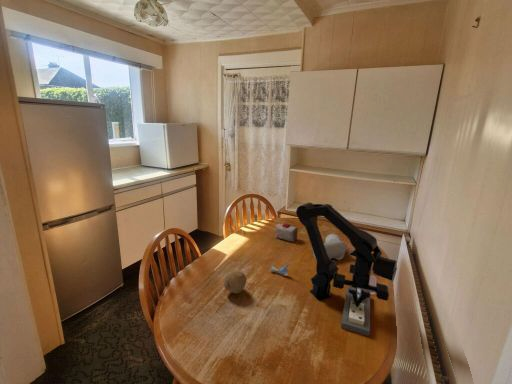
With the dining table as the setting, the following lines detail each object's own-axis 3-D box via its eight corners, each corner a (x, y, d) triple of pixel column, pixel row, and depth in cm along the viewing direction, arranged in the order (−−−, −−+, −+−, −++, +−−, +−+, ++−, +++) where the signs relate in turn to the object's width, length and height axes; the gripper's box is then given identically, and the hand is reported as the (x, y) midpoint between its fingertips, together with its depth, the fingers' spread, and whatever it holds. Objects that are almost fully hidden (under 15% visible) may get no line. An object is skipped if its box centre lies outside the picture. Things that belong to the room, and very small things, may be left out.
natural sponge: (225, 301, 101) (225, 279, 98) (222, 287, 109) (222, 266, 106) (248, 297, 103) (248, 276, 100) (243, 284, 111) (243, 264, 109)
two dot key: (363, 327, 88) (364, 321, 87) (347, 322, 90) (348, 316, 89) (363, 317, 92) (364, 312, 92) (349, 313, 94) (349, 307, 94)
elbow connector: (351, 264, 128) (343, 246, 147) (348, 245, 126) (341, 229, 145) (315, 267, 131) (312, 249, 150) (312, 249, 129) (309, 233, 148)
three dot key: (363, 317, 94) (364, 312, 93) (348, 313, 96) (349, 308, 95) (363, 309, 98) (364, 303, 98) (349, 305, 100) (350, 299, 100)
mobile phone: (356, 288, 110) (359, 271, 123) (355, 290, 110) (359, 273, 123) (375, 293, 107) (377, 275, 120) (374, 295, 107) (376, 277, 120)
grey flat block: (369, 336, 86) (369, 331, 85) (341, 327, 89) (341, 322, 89) (369, 297, 105) (369, 293, 105) (346, 291, 109) (346, 287, 108)
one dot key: (364, 304, 99) (364, 298, 99) (350, 300, 101) (351, 295, 101) (364, 296, 104) (365, 291, 103) (351, 293, 106) (352, 288, 105)
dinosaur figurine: (283, 279, 121) (270, 267, 123) (298, 263, 116) (284, 250, 118) (280, 282, 119) (268, 269, 121) (296, 265, 113) (282, 253, 115)
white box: (272, 238, 158) (273, 223, 155) (278, 233, 165) (279, 219, 162) (293, 243, 151) (294, 228, 149) (298, 238, 158) (299, 224, 155)
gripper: (389, 264, 96) (383, 300, 100) (338, 253, 103) (334, 287, 107) (392, 280, 86) (384, 319, 90) (334, 266, 93) (330, 303, 97)
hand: (356, 305), depth 97 cm, fingers closed, pressing on three dot key
